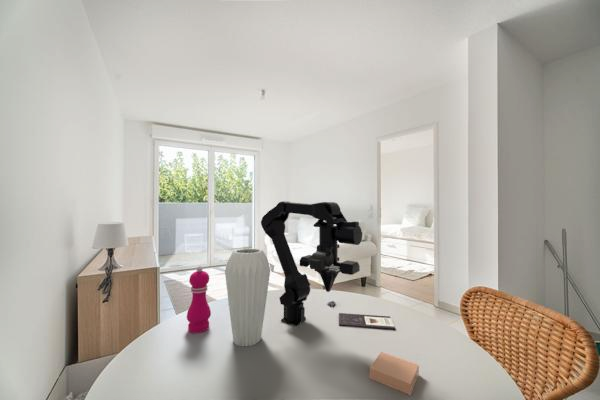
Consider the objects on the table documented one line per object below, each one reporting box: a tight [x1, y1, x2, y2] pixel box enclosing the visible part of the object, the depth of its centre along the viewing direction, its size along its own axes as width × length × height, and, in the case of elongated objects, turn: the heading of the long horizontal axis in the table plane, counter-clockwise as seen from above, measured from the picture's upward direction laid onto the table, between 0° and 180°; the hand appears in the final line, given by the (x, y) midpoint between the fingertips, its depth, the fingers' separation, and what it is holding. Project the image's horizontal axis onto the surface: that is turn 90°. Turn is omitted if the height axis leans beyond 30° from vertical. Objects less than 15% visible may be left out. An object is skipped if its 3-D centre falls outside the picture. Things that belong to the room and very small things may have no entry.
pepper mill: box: [186, 266, 212, 334], centre depth 83 cm, size 7×7×20 cm
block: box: [369, 351, 420, 395], centre depth 60 cm, size 3×8×9 cm
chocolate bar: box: [338, 312, 396, 331], centre depth 89 cm, size 9×1×18 cm
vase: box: [224, 248, 271, 348], centre depth 77 cm, size 13×13×26 cm
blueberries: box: [326, 300, 337, 308], centre depth 103 cm, size 7×8×2 cm
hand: (328, 291), depth 81 cm, fingers closed
